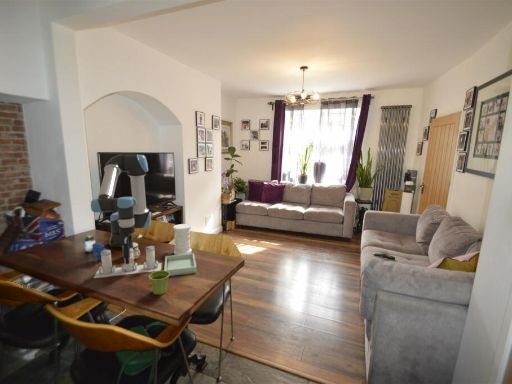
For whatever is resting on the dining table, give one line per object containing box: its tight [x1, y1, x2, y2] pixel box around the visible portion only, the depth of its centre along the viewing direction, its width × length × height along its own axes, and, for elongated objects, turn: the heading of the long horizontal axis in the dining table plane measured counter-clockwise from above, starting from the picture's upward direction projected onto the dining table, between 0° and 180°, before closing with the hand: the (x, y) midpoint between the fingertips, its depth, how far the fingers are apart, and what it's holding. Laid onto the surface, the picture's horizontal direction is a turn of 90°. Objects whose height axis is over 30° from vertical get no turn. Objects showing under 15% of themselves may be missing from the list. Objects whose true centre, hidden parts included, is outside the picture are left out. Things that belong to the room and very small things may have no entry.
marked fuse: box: [124, 248, 135, 272], centre depth 141 cm, size 5×5×12 cm
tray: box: [163, 252, 198, 277], centre depth 150 cm, size 20×17×3 cm
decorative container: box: [173, 223, 193, 255], centre depth 170 cm, size 12×12×18 cm
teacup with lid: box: [121, 242, 141, 260], centre depth 158 cm, size 12×9×12 cm
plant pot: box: [148, 270, 170, 295], centre depth 123 cm, size 9×9×9 cm
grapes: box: [91, 241, 108, 261], centre depth 154 cm, size 12×7×12 cm, turn 71°
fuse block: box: [93, 245, 163, 279], centre depth 141 cm, size 10×33×14 cm, turn 107°
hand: (129, 265), depth 142 cm, fingers open, 9 cm apart
